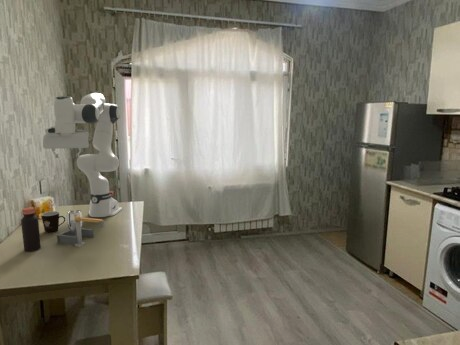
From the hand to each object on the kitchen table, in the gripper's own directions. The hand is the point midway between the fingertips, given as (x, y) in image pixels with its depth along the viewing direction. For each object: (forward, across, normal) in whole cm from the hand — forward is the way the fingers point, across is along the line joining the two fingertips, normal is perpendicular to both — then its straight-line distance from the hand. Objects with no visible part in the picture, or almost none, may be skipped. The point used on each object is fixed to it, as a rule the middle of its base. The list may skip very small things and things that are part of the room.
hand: (67, 157), depth 158 cm
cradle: (+42, -2, +4) cm, 42 cm away
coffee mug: (+42, +10, -15) cm, 46 cm away
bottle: (+43, +17, +8) cm, 46 cm away
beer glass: (+42, -2, +3) cm, 42 cm away
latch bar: (+32, -8, +16) cm, 36 cm away
